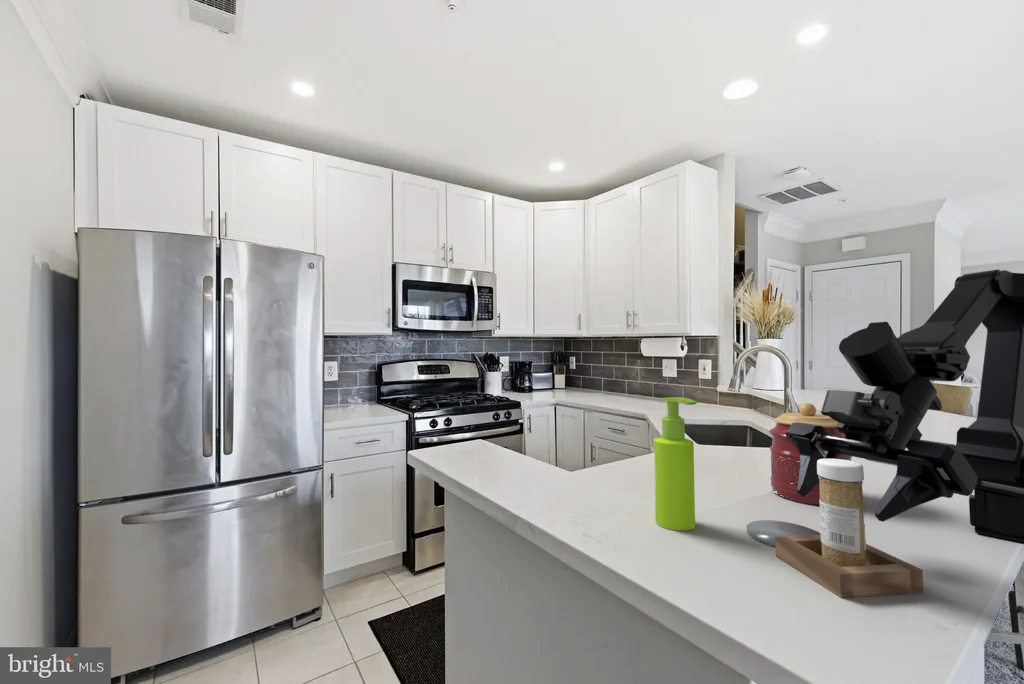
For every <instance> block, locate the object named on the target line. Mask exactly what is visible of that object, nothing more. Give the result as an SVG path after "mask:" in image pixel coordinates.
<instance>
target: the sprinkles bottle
mask: <svg viewBox="0 0 1024 684" xmlns="http://www.w3.org/2000/svg"><path fill="white" fill-rule="evenodd" d="M817 474H818V475H819V476H818V478H819V484H820V499H819V503H820V505H819V524H820V525H819V527H820V528H819V529H820V531H819V532H820V533H821V542H822V557H824V558H826V559H827V560H829V561H831V562H833V563H835V564H836V565H838V566H840V567H851V566H866V556H865V550H866V544H867V542H866V541H867V539H866V524H865V516H864V515H865V511H864V497H863V484H864V482H863V481H864V480H865V475H864V465H863V464H861V463H859V462H857V461H853V460H851V461H849V460H842V459H829V458H827V459H819V460H818V461H817Z"/></svg>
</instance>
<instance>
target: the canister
mask: <svg viewBox="0 0 1024 684" xmlns="http://www.w3.org/2000/svg"><path fill="white" fill-rule="evenodd" d="M773 421H774V422H775V423H776V424H775V426H774V427H772V428H771V429H770V430H769V431H768V433H769V434H770V435H771V436H772V441H771V443H772V444H771V446H769V450H770V470H771V476H770V486H771V489H772V492H773V491H777V493H778V494H779V495H782V496H784V497H787V498H789V499H788V500H790V499H792V500H791V501H793V500H795V501H794V502H797V501H799V502H798V503H802V502H803V503H804V504H807V503H808V504H809V505H815V506H820V503H819V499H820V484H819V483H818V484H817V485H816V486H815V487H814V489H813V490H812V491H811V492H809V493H808V494H807V495H806V496H804V497H802V496H800V495H799V494H798V493H797V485H798V477H799V469H800V452H799V451H798V450H797V449H796V447H795V446H794V445H793V444H792V442H791V441H790V440H789V439H788V437H787V436H786V435H785V433H786V432H787V430H788V429H789V427H790V426H791V425H792V423H798V422H800V423H807V424H814V425H821V426H823V428H824V429H825V430H826V431H827V433H828V434H829V435H830V436H831V437H837V438H843V439H844V437H845V436H846V435H845V434H844V433H840V432H839V431H838V429H837V428H836V427H835V426H836V425H837V423H838V422H837V421H835V420H834V419H832V418H830V417H829V416H824V415H823V414H821V413H817V408H816V406H815V405H814V404H812V403H810V402H809V403H808V402H806V403H802V404H800V407H799V412H784V413H782V414H780V416H778V417H775V418H773ZM838 455H839V456H838V458H837V459H842V460H849V461H852V458H853V456H848V455H843V454H838ZM779 495H778V496H779ZM784 497H783V498H784Z"/></svg>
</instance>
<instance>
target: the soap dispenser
mask: <svg viewBox="0 0 1024 684" xmlns="http://www.w3.org/2000/svg"><path fill="white" fill-rule="evenodd" d="M661 400H662V402H667V403H666V404H667V405H666V406H667V411H666V412H667V415H665V416H663V417H661V432H662V433H661V434H662V436H661V437H656V438H654V440H653V441H654V442H653V446H654V448H653V449H654V496H655V497H654V498H655V501H654V502H655V503H654V506H655V524H656V525H658V526H659V525H660V527H661V526H662V527H661V528H663V527H664V529H666V528H667V529H668V530H670V531H681V532H683V531H685V532H686V531H691V530H693V529H694V528H696V506H695V505H696V501H695V456H694V455H695V454H694V446H695V445H694V441H693V440H691V439H688V438H686V437H685V436H686V432H685V431H686V430H685V429H686V427H685V425H686V424H685V418H683V417H682V416H681V415H680V414H679V413H680V411H679V408H680V407H679V403H681V404H682V405H683V404H684V405H687V406H690V405H696V404H698V401H696V400H694V399H691V398H688V397H681V396H680V397H679V396H677V397H676V396H675V397H674V396H673V397H662V398H661Z"/></svg>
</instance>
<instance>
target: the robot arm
mask: <svg viewBox="0 0 1024 684" xmlns="http://www.w3.org/2000/svg"><path fill="white" fill-rule="evenodd" d="M981 324H982V325H983V326H984V327H985V328H986V339H985V346H984V348H985V349H984V357H983V362H982V363H983V364H982V372H981V381H980V382H981V383H980V392H979V399H978V406H977V416H976V420H975V421H974V422H972V423H971V424H970V425H968V427H964V426H961V427H959V429H958V430H957V432H956V442H955V444H953V443H946V442H939V441H933V440H932V441H931V440H924V439H922V437H923V433H921V430H920V429H919V426H920V424H921V423H922V421H923V419H924V417H925V415H926V414H927V413H928V410H932V411H941V410H942V409H943V406H942V401H941V400H940V398H939V397H938V396H937V395H938V390H937V389H936V387H935V386H934V384H933V383H932V382H955V381H957V380H958V379H959V378H960V377H962V375H963V373H964V372H965V371H966V370H967V368H968V364H969V362H970V359H971V356H970V353H969V351H968V349H967V348H966V346H967V343H968V341H969V340H970V338H971V337H972V336H973V335H974V334H975V332H976V330H977V329H978V328H979V326H980V325H981ZM838 351H839V352H840V353H841V355H842V357H844V359H845V360H846V362H847V364H848V365H849V366H850V368H851V369H852V370H853V372H854V373H855V375H857V377H858V378H859V380H860V382H861V383H863V384H864V385H867V386H870V387H875V388H874V390H873V392H871V393H866V392H861V391H855V390H854V391H853V390H852V391H851V390H840V389H839V390H837V389H828V390H827V391H826V394H825V398H824V401H823V404H822V408H821V411H820V414H823V415H824V416H829V417H830V418H832V419H834V420H835V421H837V422H838V423H837V425H836V426H835V427H836V428H837V429H838V431H839V432H840V433H844V434H845V435H846V436H845V437H844V439H843V438H837V437H831V436H830V435H829V434H828V433H827V431H826V430H825V429H824V428H823V426H821V425H814V424H807V423H800V422H798V423H792V425H791V426H790V427H789V429H788V430H787V432H786V433H785V435H786V436H787V437H788V439H789V440H790V441H791V442H792V444H793V445H794V446H795V447H796V449H797V450H798V451H799V452H800V469H799V477H798V485H797V493H798V494H799V495H800V496H802V497H804V496H806V495H807V494H808V493H809V492H811V491H812V490H813V489H814V487H815V486H816V485H817V484H818V483H819V478H818V476H819V475H818V474H817V461H818V460H819V459H827V458H829V459H837V458H838V456H839V455H838V454H843V455H848V456H852V458H853V457H854V458H859V459H863V460H867V461H869V462H874V463H879V464H884V465H889V466H894V467H896V472H895V473H896V474H895V476H894V478H892V481H891V483H890V484H889V486H888V488H887V490H886V491H885V492H884V494H883V496H882V497H881V499H880V501H879V503H878V505H877V507H876V510H875V514H874V517H875V518H876V520H877V521H879V522H886V521H888V520H890V519H892V518H894V517H896V516H899V515H901V514H903V513H904V512H907V511H909V510H911V509H913V508H915V507H917V506H918V507H919V506H920V505H922V504H925V503H929V502H931V501H934V500H937V499H939V498H947V499H951V498H953V497H954V495H960V496H965V497H968V507H969V510H968V511H969V524H970V525H971V526H972V527H974V533H975V534H980V535H984V536H990V537H995V538H997V539H998V538H1000V539H1005V540H1009V541H1015V542H1019V543H1023V544H1024V273H1020V272H1012V271H1008V270H1006V269H1003V270H1001V269H990V270H985V271H978V272H970V273H964V274H963V275H960V276H958V277H957V278H956V279H955V280H954V288H953V289H952V290H950V292H949V293H948V294H947V296H946V297H945V298H944V300H943V301H942V302H941V303H940V304H939V305H938V307H937V308H936V309H935V310H934V312H933V313H932V314H931V315H930V317H928V319H927V320H926V321H925V323H924V324H922V325H921V326H919V327H917V328H913V329H910V330H909V331H906V332H904V333H902V334H900V336H899V337H897V336H896V334H895V333H894V331H893V328H892V326H891V325H890V323H889V322H888V321H877V322H870V323H869V324H868V325H867V327H866V328H865V327H864V328H862V329H859V330H856V331H855V332H852V333H851V334H849V335H847V337H844V338H842V340H841V341H840V343H839V344H838ZM973 492H974V493H973Z"/></svg>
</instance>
